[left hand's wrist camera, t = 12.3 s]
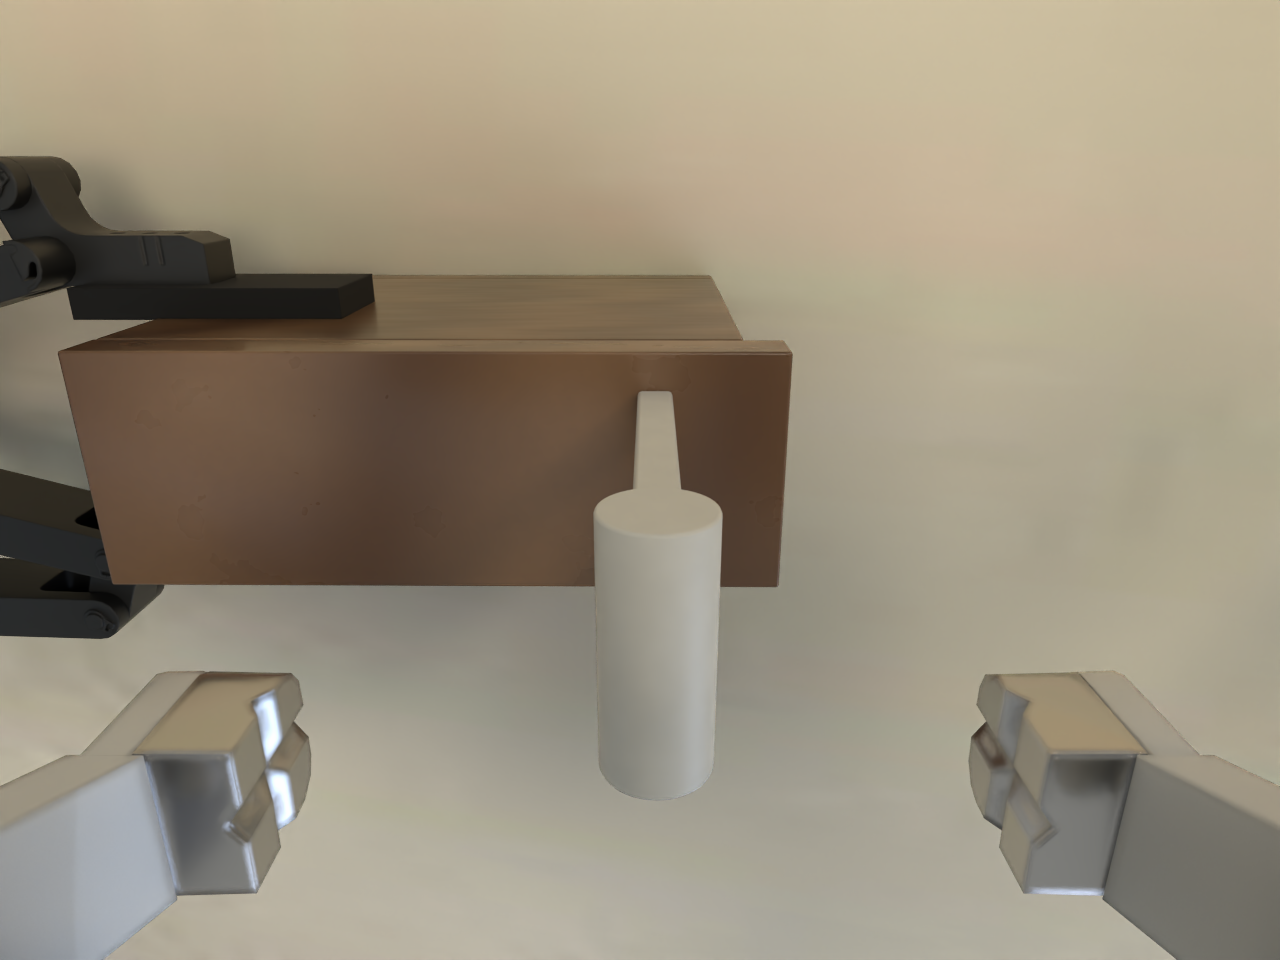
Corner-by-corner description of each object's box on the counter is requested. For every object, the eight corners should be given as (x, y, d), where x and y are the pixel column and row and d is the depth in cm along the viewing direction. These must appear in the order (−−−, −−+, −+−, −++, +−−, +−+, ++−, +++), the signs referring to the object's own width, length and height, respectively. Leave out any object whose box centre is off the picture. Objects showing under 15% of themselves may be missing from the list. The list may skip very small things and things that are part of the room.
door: (784, 340, 19) (892, 487, 10) (771, 563, 20) (853, 840, 12) (92, 339, 19) (-345, 483, 10) (141, 561, 21) (-199, 833, 12)
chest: (711, 275, 29) (744, 340, 19) (707, 428, 30) (735, 562, 20) (287, 274, 29) (93, 338, 19) (309, 427, 31) (143, 560, 21)
